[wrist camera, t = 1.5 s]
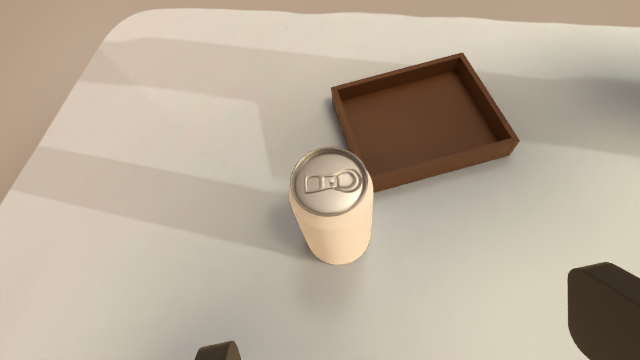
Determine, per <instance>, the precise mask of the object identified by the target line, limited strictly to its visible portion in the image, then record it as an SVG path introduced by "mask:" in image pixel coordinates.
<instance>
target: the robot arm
mask: <svg viewBox="0 0 640 360" xmlns="http://www.w3.org/2000/svg"><path fill="white" fill-rule="evenodd" d="M568 327H569V331H570V334H571V336H572V338H573V340H574V342H575V344H576V345H577V347H578V348H579V349H580V350H581V352H582V353H583V354H584V355H585V356H586V357H588V358H589V359H590V360H640V278H638V277H636V276H634V275H633V274H631V273H629V272H627V271H625V270H623V269H622V268H620V267H618V266H616V265H614V264H612V263H609V262H603V263H598V264H594V265H589V266H584V267H580V268H575V269H572V270H571V271H570V272H569V274H568ZM195 360H241V357H240V354H239V351H238V348H237V345H236V343H235V342H234V341H229V342H224V343H220V344H215V345H210V346H206V347H201V348H200V349H199V350H198V353H197V355H196V358H195Z"/></svg>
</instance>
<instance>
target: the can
mask: <svg viewBox="0 0 640 360" xmlns="http://www.w3.org/2000/svg"><path fill="white" fill-rule="evenodd" d="M289 199H290V204H291V207H292V209H293V212H294V214H295V217H296V219H297V221H298V224H299V226H300V228H301V230H302V233H303V235H304V237H305V239H306V241H307V244H308V246H309V248H310V249H311V251H312V252H313V254H314V255H315V256H316V257H318V258H319V259H320V260H322V261H324V262H326V263H329V264H334V265H342V264H347V263H350V262H352V261H354V260H356V259H357V258H359V257H360V256H361V255H362V254H363V253H364V251H365V250H366V248H367V246H368V244H369V241H370V237H371V225H372V211H373V184H372V180H371V177H370V175H369V173H368V171H367V170H366V168H365V166H364V164H363V162H362V161H361V160H360V159H359V158H358V157H357V156H356V155H355V154H353V153H352V152H350V151H348V150H345V149H342V148H337V147H324V148H320V149H316V150H314V151H312V152H310V153H308V154H306V155H305V156H304V157H303V158H301V159H300V160H299V162H298V163H297V164H296V166H295V167H294V169H293V172H292V175H291V180H290V186H289Z"/></svg>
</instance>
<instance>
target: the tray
mask: <svg viewBox="0 0 640 360" xmlns="http://www.w3.org/2000/svg"><path fill="white" fill-rule="evenodd" d="M331 91H332V100H333V105H334V108H335V111H336V114H337V117H338V119H339V122H340V125H341V128H342V131H343V134H344V136H345V139H346V142H347V145H348V148H349V151H350V152H352V153H353V154H355V155H356V156H357V157H358V158H359V159H360V160H361V161H362V162H363V164H364V166H365V168H366V170H367V171H368V173H369V175H370V177H371V180H372V184H373V193H374V192H378V191H381V190H385V189H389V188H392V187H396V186H399V185H403V184H407V183H410V182H414V181H418V180H421V179H425V178H429V177H432V176H436V175H439V174H443V173H447V172H450V171H454V170H458V169H461V168H465V167H468V166H472V165H476V164H479V163H483V162H487V161H490V160H494V159H498V158H501V157H505V156H508V155H510V154H511V152H512V151H513V150H514V148H515V147H516V145H517V144H518V143H519V141H520V140H519V139H518V137H517V136H516V134H515V133H514V131H513V130H512V128H511V126H510V125H509V123H508V122H507V120H506V119H505V117H504V116H503V114H502V112H501V111H500V109H499V108H498V106H497V105H496V103H495V102H494V100H493V99H492V97H491V95H490V94H489V92H488V91H487V89H486V88H485V86H484V85H483V83H482V81H481V80H480V78H479V77H478V75H477V74H476V72H475V71H474V69H473V68H472V66H471V64H470V63H469V61H468V60H467V58H466V57H465V55H464V54H463V53H459V54H455V55H451V56H448V57H444V58H440V59H436V60H433V61H429V62H425V63H421V64H418V65H414V66H410V67H406V68H403V69H399V70H395V71H391V72H387V73H384V74H380V75H376V76H372V77H369V78H365V79H361V80H357V81H354V82H350V83H346V84H342V85H339V86H335V87H331Z"/></svg>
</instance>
